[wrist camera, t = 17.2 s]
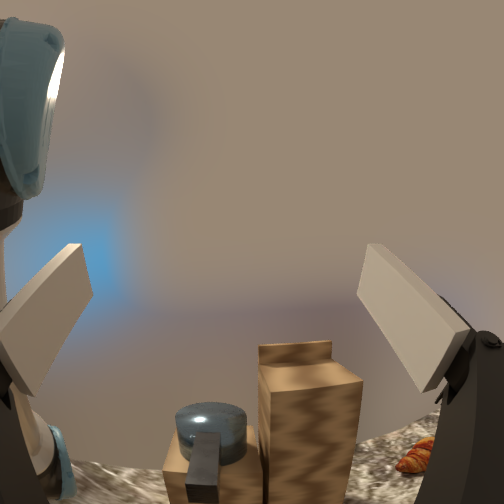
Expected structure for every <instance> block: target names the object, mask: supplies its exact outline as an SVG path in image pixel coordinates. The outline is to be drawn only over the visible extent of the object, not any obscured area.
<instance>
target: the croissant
mask: <svg viewBox="0 0 504 504" xmlns="http://www.w3.org/2000/svg"><path fill="white" fill-rule="evenodd" d="M434 439H435V437H425V438H423V439H422V440H421V441H419V442H417V443H416V444H415V445H414V447H413V448H412V450H410V451H409V452H408V453H407V455H406V457H404V458H402V459H401V460H400V461H399V463H398V464H397V465H396V466H395V468H396V470H397V471H399V472H410V473H419V472H422V471H426V468H427V465H428V461H429V458H430V454H431V451H432V447H433V443H434Z"/></svg>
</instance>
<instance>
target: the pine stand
mask: <svg viewBox="0 0 504 504" xmlns="http://www.w3.org/2000/svg"><path fill="white" fill-rule="evenodd" d="M331 353H332V341H331V340H325V341H315V342H300V343H285V344H264V345H258V415H259V416H258V420H259V421H258V423H259V424H258V425H259V426H258V427H259V429H258V432H259V434H258V436H259V453H258V449H257V444H256V439H255V434H254V430H253V426H247V453H246V455H245V456H244V457H243V458H242V459H241V460H239V461H237V462H235V463H233V464H230V465H226V466H221V473H220V496H219V504H343V501H344V497H345V492H346V488H347V484H348V479H349V475H350V470H351V465H352V460H353V454H354V449H355V443H356V437H357V430H358V423H359V416H360V408H361V400H362V390H363V380H362V379H360V378H359V377H357V376H356V375H354V374H353V373H351V372H350V371H348V370H347V369H346V368H344V367H343V366H341V365H340V364H338V363H337V362H335V361H334V360H333V359H331ZM188 467H189V461H188V460H186V459H185V458H184V457H183V456H182V455H181V453H180V449H179V442H178V435H177V427H176V430H175V432H174V435H173V438H172V442H171V445H170V448H169V451H168V454H167V457H166V460H165V463H164V467H163V470H162V472H163V477H164V481H165V485H166V489H167V493H168V497H169V501H170V504H202V503H188V498H187V493H186V488H185V480H186V476H187V471H188Z"/></svg>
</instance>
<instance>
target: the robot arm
mask: <svg viewBox="0 0 504 504" xmlns="http://www.w3.org/2000/svg"><path fill="white" fill-rule="evenodd" d="M64 47H65V44H64V39H63V36H62V34H61V32H60V31H59V30H58V29H57V28H55V27H53V26H50V25H46V24H40V23H34V22H28V21H20V20H18V19H17V18H15V17H10V18H8V19H6V20H0V504H49V502H48V500H50V499H55V500H62V499H65V498H72V497H74V496H75V495H76V493H77V486H76V482H75V478H74V475H73V473H72V467H71V463H70V459H69V456H68V452H67V449H66V445H65V442H64V439H63V436H62V433H61V431H60V430H59V428H57V427H56V426H51V425H47V424H46V423H45V421H44V420H43V419H42V418H41V417H40V416H39V415H38V414H36V413H35V412H34V411H32V409H31V406H30V403H29V400H28V397H27V395H29V396H32V397H35V396H36V394H37V392H38V390H39V388H40V386H41V384H42V382H43V380H44V378H45V376H46V374H47V372H48V371H49V368H50V367H51V365H52V363H53V361H54V359H55V357H56V356H57V354H58V352H59V350H60V349H61V347H62V345H63V343H64V342H65V340H66V338H67V337H68V335H69V333H70V331H71V330H72V328H73V327H74V325H75V323H76V322H77V320H78V318H79V317H80V315H81V314H82V312H83V311H84V309H85V307H86V306H87V304H88V303H89V301H90V299H91V298H92V296H93V292H92V288H91V284H90V280H89V276H88V272H87V267H86V263H85V258H84V253H83V249H82V244H68V245H67V246H66V247H65V248H64V249H62V250H61V251H60V252H59V253H58V254H57V255H56V256H55V257H54V258H53V259H52V260H50V261H49V262H48V263H47V264H46V265H45V266H44V267H43V268H42V269H41V270H40V271H39V272H38V273H37V274H36V275H35V276H34V277H33V278H32V279H31V280H30V281H29V282H28V283H27V284H26V285H25V286H24V287H23V288H22V289H21V290H20V291H19V292H18V294H16V296H15V297H14V298H13V299H11V300H10V301H9V302H8V303H7V297H6V286H5V271H4V239H5V238H6V237H7V236H8V235H9V234H10V233H11V231H12V230H13V229H14V228H15V227H16V226H17V225H18V224H19V223H20V221H21V219H22V211H23V200H28V199H31V198H32V197H35V196H38V195H39V194H40V193H41V191H42V188H43V183H44V178H45V171H46V161H47V152H48V148H49V141H50V135H51V127H52V121H53V115H54V109H55V103H56V97H57V92H58V86H59V80H60V75H61V70H62V65H63V59H64V50H65V49H64ZM357 296H358V297H359V298H360V300H361V301H362V303H363V304H364V306H365V307H366V309H367V310H368V311H369V313H370V314H371V316H372V317H373V319H374V320H375V322H376V323H377V325H378V326H379V328H380V329H381V330H382V332H383V334H384V335H385V336H386V338H387V340H388V341H389V343H390V344H391V346H392V347H393V349H394V350H395V352H396V354H397V355H398V356H399V358H400V360H401V361H402V363H403V365H404V366H405V368H406V369H407V371H408V373H409V374H410V376H411V377H412V379H413V381H414V383H415V384H416V386H417V387H418V389H419V391H420V392H421V393H424V392H427V391H430V390H433V389H436V388H437V386H438V385H439V383H440V382H441V380H442V379H443V377H445V379H446V380H447V381H448V383H447V385H446V386H445V387H444V389H443V391H442V392H441V393H440V395H439V396H438V398H437V399H436V401H435V404H437V403H438V402H439V400H440V399H442V403H441V410H440V415H439V421H438V425H437V430H436V434H435V439H434V443H433V447H432V451H431V454H430V458H429V461H428V465H427V468H426V471H425V474H424V478H423V481H422V483H421V486H420V489H419V492H418V495H417V497H416V500H415V502H414V504H504V343H502V341H501V340H500V339H499V338H498V337H497V336H496V335H495V334H493V333H491V332H489V331H479V332H476V331H475V330H474V329H473V328H472V327H471V326H470V325H469V323H468V322H467V321H466V320H465V319H464V318H463V317H462V316H461V315H460V314H459V313H457V311H456V310H455V309H454V308H453V307H451V305H450V304H449V303H448V302H447V301H446V300H445V299H444V298H443V297H441V296H439V295H438V294H436V293H435V292H434V291H433V290H432V289H431V288H430V287H429V286H428V285H427V284H426V283H425V282H424V281H422V280H421V279H420V278H419V277H418V276H417V275H416V274H415V273H414V272H413V271H412V270H411V269H409V268H408V267H407V266H406V265H405V264H404V263H403V262H402V261H400V259H398V258H397V257H396V256H395V255H394V254H393V253H392V252H390V251H389V250H388V249H387V248H386V247H385V246H384V245H382V244H368V246H367V251H366V256H365V260H364V265H363V270H362V274H361V278H360V283H359V287H358V291H357Z"/></svg>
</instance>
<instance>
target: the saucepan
mask: <svg viewBox="0 0 504 504" xmlns="http://www.w3.org/2000/svg"><path fill="white" fill-rule="evenodd" d="M175 418H176V427H177V435H178V442H179V449H180V453H181V455H182V456H183V457H184V458H185V459H186V460H188V461H189V467H188V471H187V476H186V480H185V488H186V493H187V498H188V503H202V504H219V496H220V473H221V466H226V465H230V464H233V463H235V462H237V461H239V460H241V459H242V458H243V457H244V456H245V455H246V453H247V416H246V413H245V412H244V411H243V410H242V409H241V408H238V407H237V406H234V405H230V404H226V403H217V402H205V403H196V404H192V405H189V406H186V407H184V408H182V409H180V410H179V411H178V412H177V413H176V416H175Z"/></svg>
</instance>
